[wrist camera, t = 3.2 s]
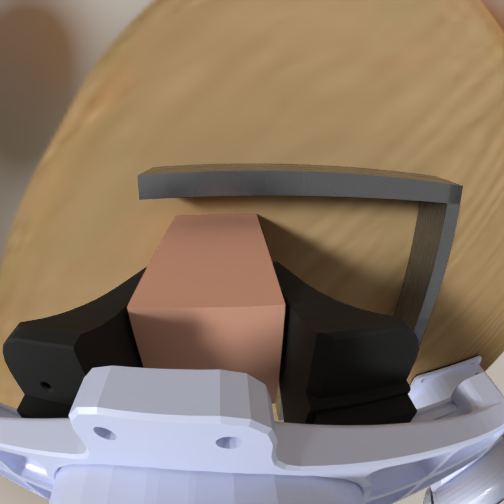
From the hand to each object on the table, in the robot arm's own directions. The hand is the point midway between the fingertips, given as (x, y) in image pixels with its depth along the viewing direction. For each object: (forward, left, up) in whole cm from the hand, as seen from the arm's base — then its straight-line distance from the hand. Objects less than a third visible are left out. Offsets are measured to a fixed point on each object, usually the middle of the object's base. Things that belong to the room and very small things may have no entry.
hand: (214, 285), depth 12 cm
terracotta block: (0, 0, -3) cm, 3 cm away
